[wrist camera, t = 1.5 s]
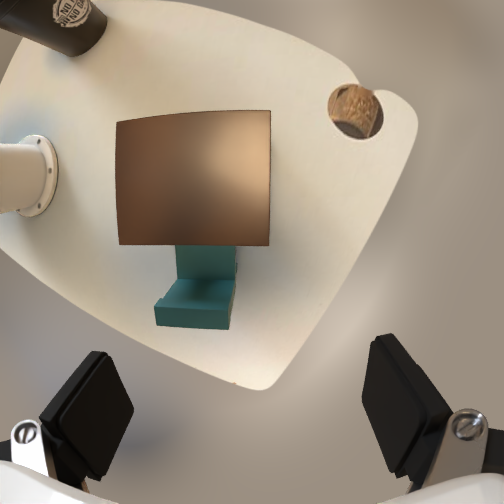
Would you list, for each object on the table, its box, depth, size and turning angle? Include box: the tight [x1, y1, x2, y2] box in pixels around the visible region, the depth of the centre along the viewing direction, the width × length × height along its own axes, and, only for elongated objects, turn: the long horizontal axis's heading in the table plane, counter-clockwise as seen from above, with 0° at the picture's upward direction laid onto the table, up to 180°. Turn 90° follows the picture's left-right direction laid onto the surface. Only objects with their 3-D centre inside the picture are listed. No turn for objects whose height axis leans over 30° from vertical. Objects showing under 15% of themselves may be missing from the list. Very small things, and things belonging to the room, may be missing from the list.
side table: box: [115, 110, 271, 246], centre depth 25 cm, size 12×10×12 cm
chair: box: [154, 245, 237, 330], centre depth 26 cm, size 8×6×13 cm
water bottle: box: [0, 0, 107, 57], centre depth 13 cm, size 10×10×23 cm
